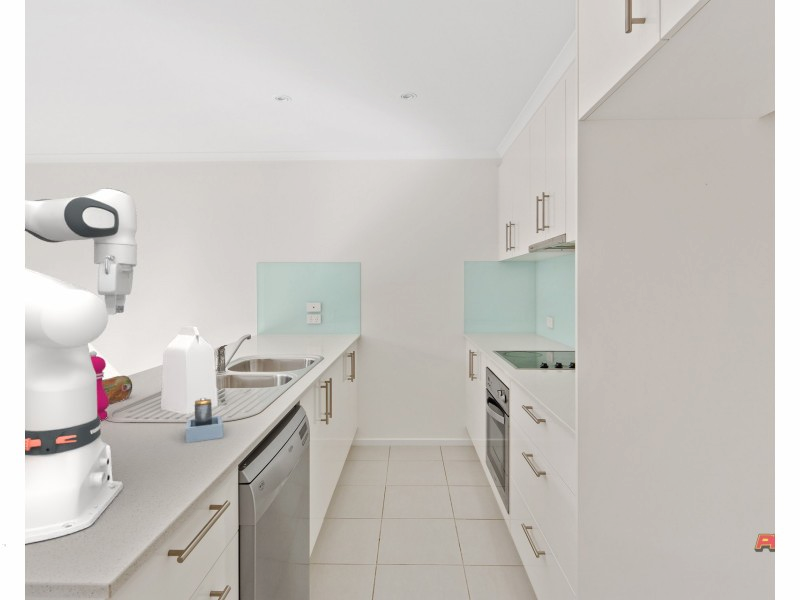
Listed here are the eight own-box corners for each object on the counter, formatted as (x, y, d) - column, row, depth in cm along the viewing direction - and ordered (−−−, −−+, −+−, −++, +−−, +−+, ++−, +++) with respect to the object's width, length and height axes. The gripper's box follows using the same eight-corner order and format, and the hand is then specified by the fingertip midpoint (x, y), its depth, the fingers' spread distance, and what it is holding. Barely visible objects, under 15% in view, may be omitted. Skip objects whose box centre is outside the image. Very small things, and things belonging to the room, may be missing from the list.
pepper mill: (94, 424, 125) (92, 353, 124) (72, 422, 126) (71, 352, 125) (115, 416, 132) (114, 349, 131) (94, 415, 133) (93, 348, 132)
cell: (212, 432, 114) (211, 399, 114) (194, 434, 112) (193, 400, 112) (212, 428, 118) (211, 395, 118) (195, 430, 116) (194, 397, 116)
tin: (94, 409, 140) (93, 382, 139) (86, 408, 140) (85, 382, 140) (133, 397, 154) (133, 373, 154) (125, 397, 155) (125, 373, 155)
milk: (160, 409, 139) (159, 327, 138) (192, 401, 150) (191, 324, 149) (187, 414, 134) (185, 328, 133) (217, 405, 144) (216, 325, 144)
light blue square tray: (222, 437, 113) (222, 424, 113) (185, 442, 110) (185, 428, 110) (221, 428, 121) (221, 415, 121) (186, 432, 117) (186, 419, 117)
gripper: (122, 254, 100) (122, 315, 101) (137, 260, 119) (136, 311, 119) (89, 253, 98) (89, 315, 98) (109, 259, 117) (109, 311, 117)
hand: (115, 313), depth 109 cm, fingers open, 8 cm apart
